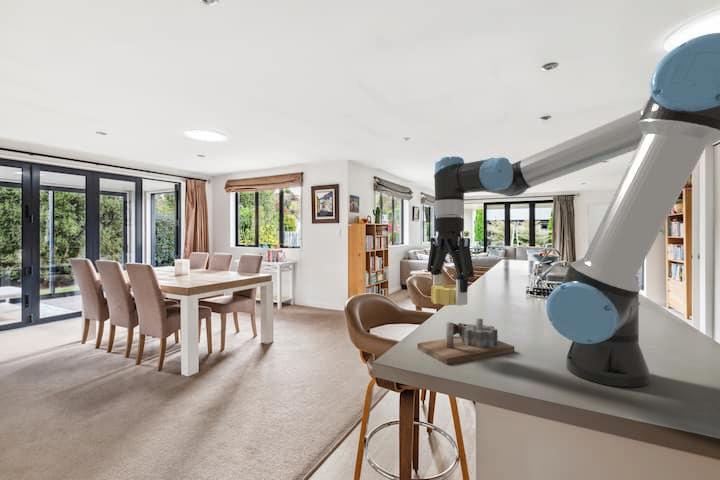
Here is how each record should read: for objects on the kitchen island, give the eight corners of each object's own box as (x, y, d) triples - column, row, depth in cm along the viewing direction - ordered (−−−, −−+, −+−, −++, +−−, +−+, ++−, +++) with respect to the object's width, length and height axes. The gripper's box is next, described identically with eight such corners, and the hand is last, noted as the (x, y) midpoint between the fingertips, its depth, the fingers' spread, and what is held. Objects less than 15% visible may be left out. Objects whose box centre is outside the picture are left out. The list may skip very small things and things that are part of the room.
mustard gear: (445, 307, 86) (445, 291, 86) (424, 300, 95) (424, 285, 95) (474, 303, 90) (474, 288, 90) (452, 297, 98) (452, 283, 98)
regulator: (487, 334, 112) (443, 328, 110) (491, 324, 110) (446, 317, 109) (497, 349, 105) (449, 342, 103) (501, 338, 103) (453, 331, 102)
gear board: (514, 351, 92) (514, 322, 92) (446, 364, 84) (446, 331, 84) (479, 338, 104) (479, 312, 104) (417, 348, 96) (417, 319, 96)
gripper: (490, 215, 83) (490, 308, 84) (436, 218, 103) (436, 293, 104) (465, 214, 80) (465, 311, 81) (414, 218, 100) (414, 295, 101)
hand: (448, 301), depth 92 cm, fingers closed on mustard gear, 9 cm apart
